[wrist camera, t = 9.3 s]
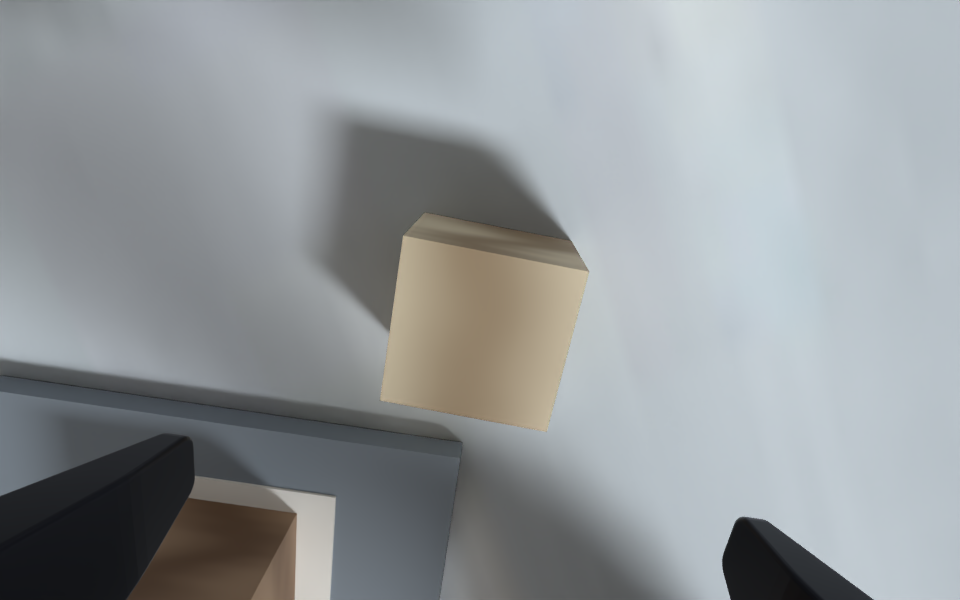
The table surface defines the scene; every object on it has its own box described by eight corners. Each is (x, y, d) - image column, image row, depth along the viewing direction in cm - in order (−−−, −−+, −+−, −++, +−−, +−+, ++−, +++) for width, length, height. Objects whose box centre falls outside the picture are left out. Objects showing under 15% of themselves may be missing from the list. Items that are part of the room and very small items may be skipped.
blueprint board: (462, 442, 20) (460, 460, 19) (425, 692, 25) (421, 718, 23) (0, 375, 20) (-28, 389, 19) (48, 638, 24) (28, 661, 23)
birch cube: (570, 239, 17) (589, 272, 14) (538, 371, 19) (546, 431, 15) (425, 211, 17) (403, 235, 14) (405, 345, 19) (379, 400, 15)
